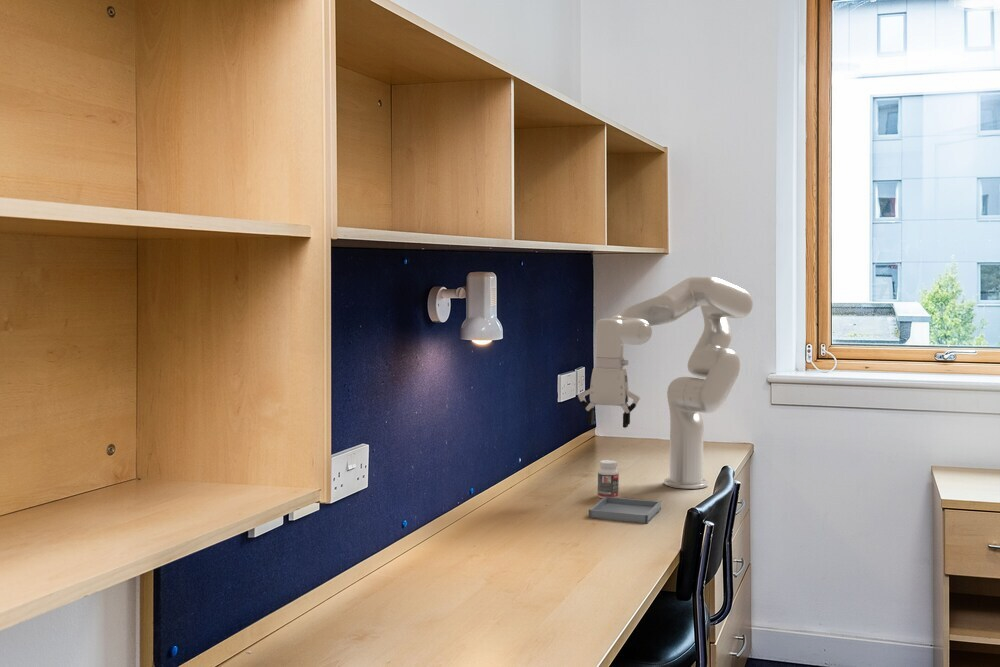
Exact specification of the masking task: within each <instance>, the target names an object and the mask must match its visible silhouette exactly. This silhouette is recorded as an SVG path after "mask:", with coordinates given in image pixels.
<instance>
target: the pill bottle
mask: <svg viewBox="0 0 1000 667" xmlns="http://www.w3.org/2000/svg"><path fill="white" fill-rule="evenodd" d="M599 466H600V468H599V469H598V470H597V498H600V499H601V500H602V499H603V498H605V497H616V498H619V479H620V477H619V475H620V474H619V470H618V469H617V467H618V462H617V461H616V460H611V459H603V460H600V461H599Z"/></svg>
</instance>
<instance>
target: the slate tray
mask: <svg viewBox="0 0 1000 667" xmlns="http://www.w3.org/2000/svg"><path fill="white" fill-rule="evenodd" d="M661 510H662V501H658V500H648V499H647V500H646V499H635V498H625V497H617V498H616V497H605V498H603V499H602V498H601V499H600V501H599V502H597V503H596V504H594V505H593V506H592V507H590V508H589V509H588V518H589V519H597V520H598V519H599V520H608V521H617V522H618V521H619V522H629V523H638V524H639V523H640V524H649V522H650V521H652V519H653V518H654V517H655V516H656V515H657V514H658V513H660V511H661Z"/></svg>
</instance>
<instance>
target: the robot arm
mask: <svg viewBox="0 0 1000 667" xmlns="http://www.w3.org/2000/svg"><path fill="white" fill-rule="evenodd" d="M753 306H754V303H753V298H752V295H751V294H750V293H749V291H747V290H746V289H744V288H741V287H739V286H738V285H735V284H732V283H730V282H728V281H726V280H723V279H721V278H718V277H715V276H690V277H686V278H685V279H683V280H681V281H679V282H678V283H677V284H675V285H674V286H672V287H671V288H669V289H668V290H665V291H664V292H663V293H660V294H659V295H657V296H655V297H652V298H648V299H646V300H644V301H641V302H638V303H636V304H633V305H631V306H628V307H625V308H624V309H622V310H621V311H620V312H617V313H616V314H614V315H613V316H612V317H610V318H601V319H598V320H597V321H596V323H595V367H594V368H592V373H591V378H590V384H589V385H590V387H589V388H588V389H587V390H584V391H581V392H580V393H578V394H577V397H578V400H579V401H580V404H581V405H582V407H583V408H584V409H585V410H586V411H587V412H586V422H588V426H593V425H594V424H595V410H594V407H595V406H599V405H600V406H613V407H616V406H617V407H621V409H622V410H623V413H622V427H623V428H624V429H626V428H627V427H629V425H631V412H632V411H633V410H634V409H635V408H636V407H637V405H638V404H639V402H640V400H641V397H640V396H639V395H637V394H636V393H634V392H632V391H630V390H629V380H628V373H627V369H626V368H624V367H625V366H628V365H629V360H628V359H627V360H626V359H625V357H624V345H628V346H629V345H630V346H640V345H641V346H642V345H643V344H646V343H648V341H649V340H650V339H651V338H652V336H653V329H652V327H653V326H662V325H666V324H670V323H673V322H675V321H677V320H679V319H680V318H682V317H683V316H684V315H687V313H689V312H690V311H692V310H694V309H695V308H697V307H700V310H701V314H702V318H703V323H704V328H703V331H702V334H701V336H700V338H699V340H698V341H697V343H696V344H695V347H694V348H693V350H692V352H691V355H690V356H689V359H688V361H687V370H688V372H689V373H690V374H691V375H692V377H691V376H679V377H675V379H673V380H672V381H671V382H670V383H669V385H668V387H667V391H666V397H667V402H668V408H669V420H670V422H669V424H670V426H669V427H670V428H669V431H670V432H669V477H666V478H664V479H663V484H664V485H665V486H668V487H670V488H675V489H684V490H685V489H686V490H689V489H693V490H694V489H703V488H706V487H708V486H709V482H708V480H706V479H705V478H703V472H704V471H703V470H704V467H703V466H704V420H703V417H702V414H701V413H705V414H714V413H716V412H718V411H719V410H720V409H721V408H722V406H723V405H724V403H725V402H726V400H727V398H728V396H729V394H730V392H731V390H732V388H733V386H734V384H735V382H736V380H737V379H738V376H739V373H740V368H741V361H740V358H739V355H738V354H737V352H736V351H735V350H733V349H731V348H729V346H730V344H731V341H732V330H731V326H730V323H729V321H728V319H743V318H745V317H747V316H748V315H750V313H751V312H752V310H753ZM588 395H589V402H588V401H587V400H586V396H588ZM629 398H631V399H632V403H631V404H630V405H629Z"/></svg>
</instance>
